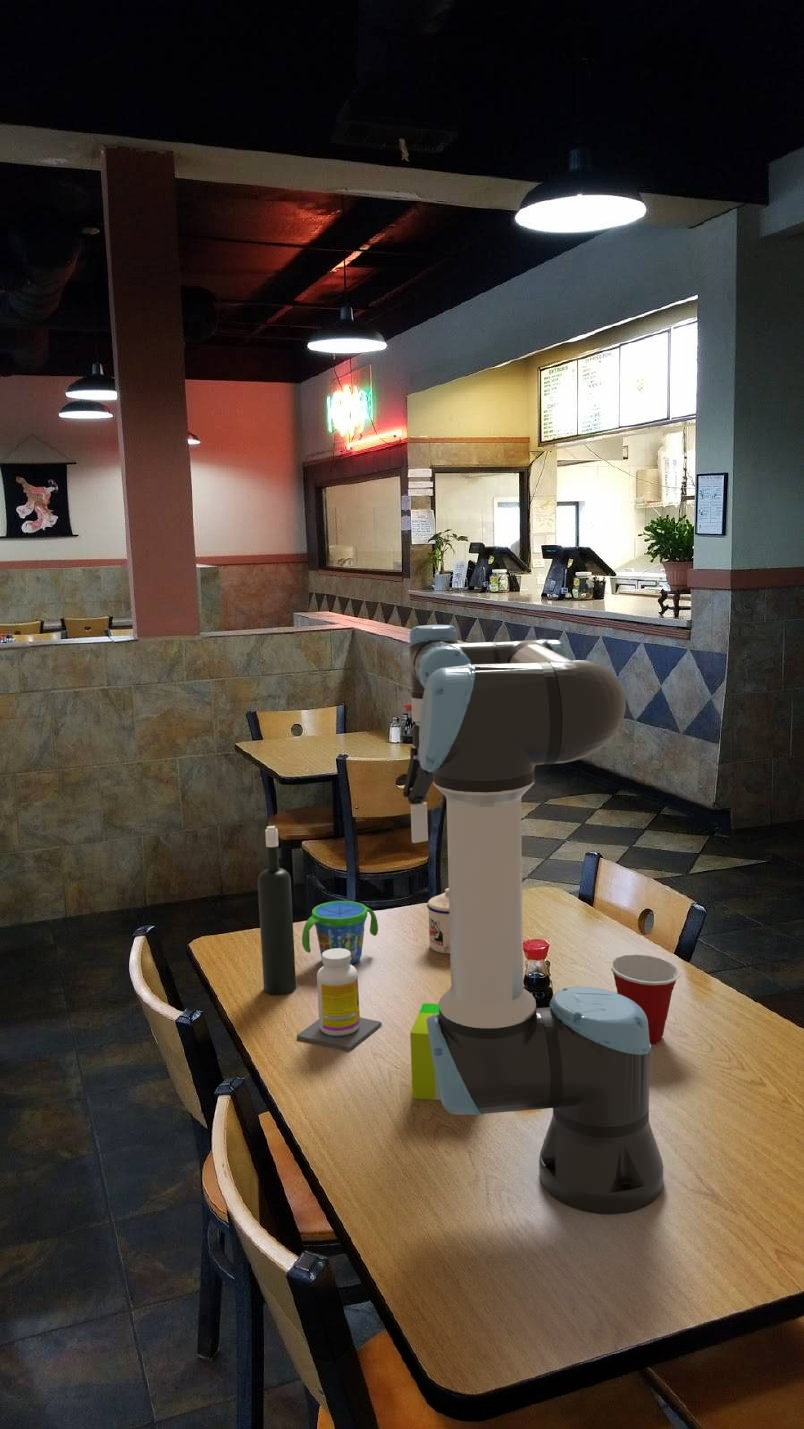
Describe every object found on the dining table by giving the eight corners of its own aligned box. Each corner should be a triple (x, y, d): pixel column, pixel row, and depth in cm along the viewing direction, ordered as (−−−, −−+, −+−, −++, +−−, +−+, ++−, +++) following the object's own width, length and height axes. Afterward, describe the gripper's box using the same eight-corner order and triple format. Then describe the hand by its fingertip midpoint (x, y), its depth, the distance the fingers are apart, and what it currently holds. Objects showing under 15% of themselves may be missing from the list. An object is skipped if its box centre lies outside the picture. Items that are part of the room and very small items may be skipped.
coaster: (349, 1051, 169) (349, 1047, 169) (296, 1038, 174) (296, 1035, 174) (381, 1025, 178) (381, 1021, 177) (330, 1014, 182) (330, 1010, 182)
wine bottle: (302, 986, 194) (294, 824, 189) (282, 998, 190) (273, 832, 185) (278, 980, 197) (269, 821, 193) (257, 991, 193) (247, 828, 188)
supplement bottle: (366, 1032, 174) (362, 957, 172) (326, 1041, 171) (323, 964, 169) (352, 1016, 180) (348, 942, 178) (314, 1024, 177) (310, 950, 175)
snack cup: (367, 943, 214) (364, 894, 212) (390, 960, 205) (388, 909, 203) (293, 959, 207) (290, 908, 205) (314, 978, 198) (311, 925, 196)
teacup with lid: (422, 941, 214) (420, 884, 212) (465, 935, 216) (464, 879, 215) (441, 963, 203) (440, 903, 201) (487, 956, 205) (485, 897, 203)
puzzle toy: (482, 1103, 152) (480, 1037, 151) (412, 1098, 154) (410, 1032, 153) (490, 1069, 162) (489, 1006, 160) (425, 1065, 164) (423, 1003, 162)
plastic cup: (677, 1057, 163) (677, 982, 161) (605, 1048, 167) (605, 975, 165) (682, 1026, 173) (683, 955, 172) (615, 1018, 177) (614, 949, 175)
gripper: (497, 730, 162) (500, 866, 166) (420, 710, 184) (423, 830, 188) (454, 736, 159) (457, 874, 162) (380, 714, 181) (385, 837, 184)
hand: (439, 851), depth 175 cm, fingers open, 13 cm apart
